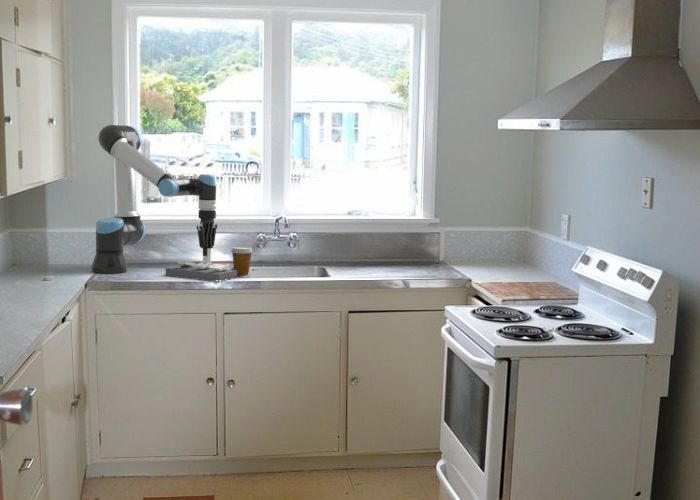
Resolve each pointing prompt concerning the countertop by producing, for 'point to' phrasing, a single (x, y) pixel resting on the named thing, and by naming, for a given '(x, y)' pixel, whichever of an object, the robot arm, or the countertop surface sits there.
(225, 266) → the rocker right
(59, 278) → the countertop surface
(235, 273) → the power strip
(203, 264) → the rocker middle
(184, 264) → the block
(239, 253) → the disposable coffee cup
